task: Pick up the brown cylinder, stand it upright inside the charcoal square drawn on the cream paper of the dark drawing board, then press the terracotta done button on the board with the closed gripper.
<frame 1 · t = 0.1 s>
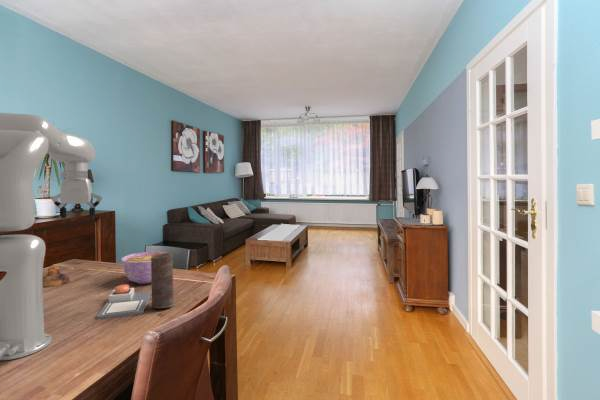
hand: (78, 217, 125), 31 cm above the table, tool pointing down, fingers open, 9 cm apart
bell: (53, 284, 137), on the table
drawing board: (126, 305, 114), on the table
bowl of food: (146, 281, 141), on the table
done button: (121, 289, 118), point 4 cm above the table, slide at 0.0 cm
brown cylinder: (162, 307, 112), on the table
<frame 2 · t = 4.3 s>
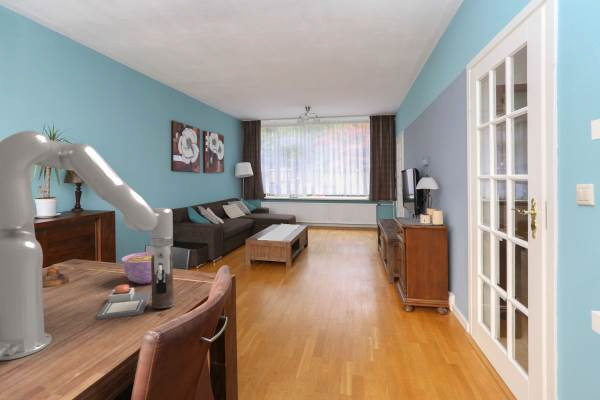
hand: (162, 289, 112), 7 cm above the table, tool pointing down, fingers closed on brown cylinder, 7 cm apart
brown cylinder: (162, 307, 112), on the table, touching gripper
everything else where it was.
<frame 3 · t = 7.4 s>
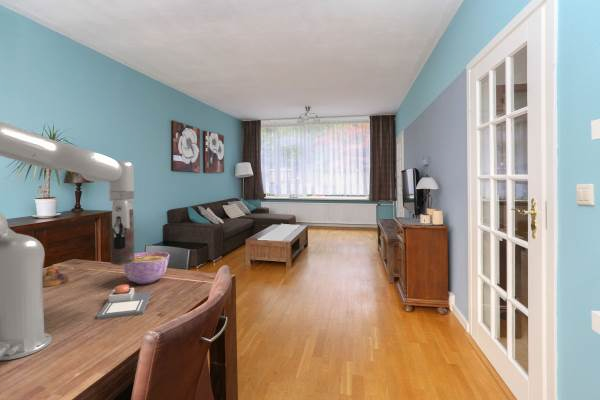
hand: (122, 245, 108), 23 cm above the table, tool pointing down, fingers closed on brown cylinder, 7 cm apart
brown cylinder: (122, 265, 109), point 16 cm above the table, touching gripper
everything else where it was.
when the fingers open (9 cm above the table, at t = 10.7 s): brown cylinder drops 1 cm, resting on drawing board.
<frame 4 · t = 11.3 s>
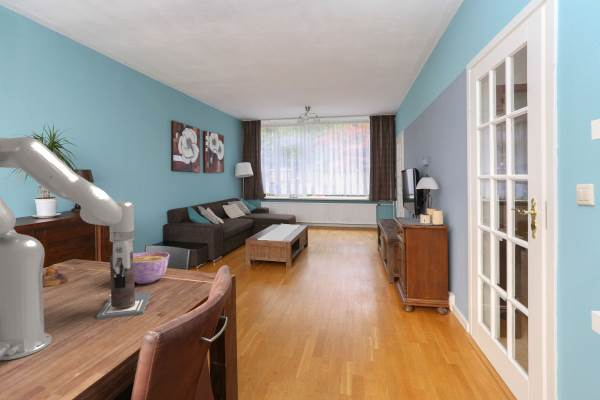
hand: (123, 283, 109), 10 cm above the table, tool pointing down, fingers open, 9 cm apart
brown cylinder: (123, 307, 109), point 1 cm above the table, touching drawing board
everything else where it was.
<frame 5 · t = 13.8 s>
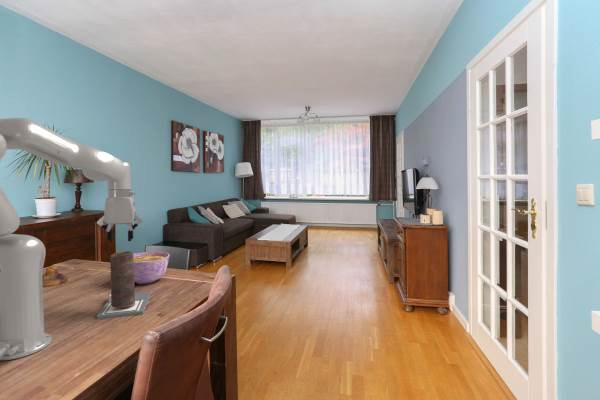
hand: (120, 240, 117), 24 cm above the table, tool pointing down, fingers open, 5 cm apart
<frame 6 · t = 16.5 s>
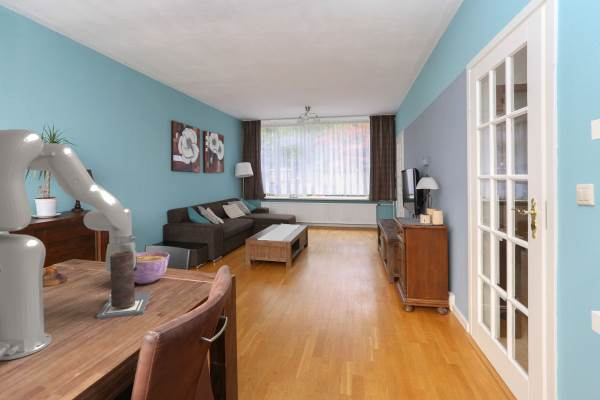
hand: (122, 286, 118), 5 cm above the table, tool pointing down, fingers closed
done button: (121, 290, 118), point 4 cm above the table, slide at 0.1 cm, touching gripper
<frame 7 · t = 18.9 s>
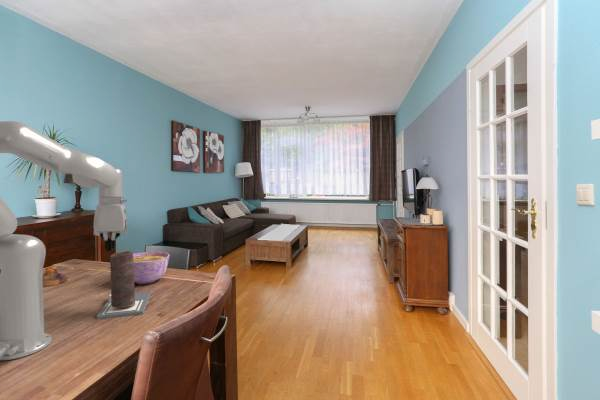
hand: (110, 250, 114), 20 cm above the table, tool pointing down, fingers closed
done button: (122, 292, 118), point 3 cm above the table, slide at 1.0 cm
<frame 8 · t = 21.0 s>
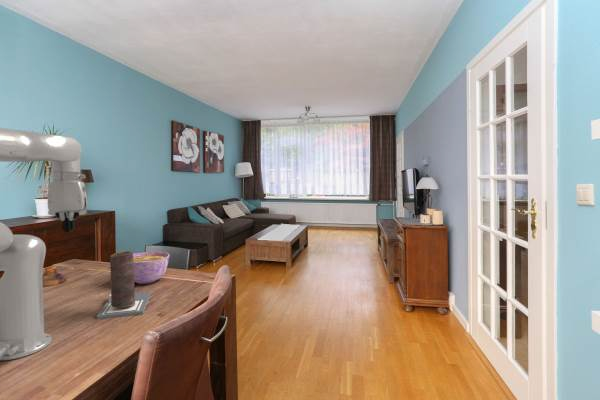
hand: (68, 231, 103), 29 cm above the table, tool pointing down, fingers closed
at the end: brown cylinder 0.2 cm from the target spot on the drawing board, point 1.0 cm above the drawing board's base; brown cylinder tilted 0°; done button slide at 1.0 cm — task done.
